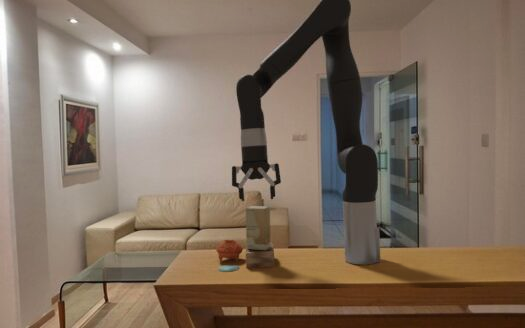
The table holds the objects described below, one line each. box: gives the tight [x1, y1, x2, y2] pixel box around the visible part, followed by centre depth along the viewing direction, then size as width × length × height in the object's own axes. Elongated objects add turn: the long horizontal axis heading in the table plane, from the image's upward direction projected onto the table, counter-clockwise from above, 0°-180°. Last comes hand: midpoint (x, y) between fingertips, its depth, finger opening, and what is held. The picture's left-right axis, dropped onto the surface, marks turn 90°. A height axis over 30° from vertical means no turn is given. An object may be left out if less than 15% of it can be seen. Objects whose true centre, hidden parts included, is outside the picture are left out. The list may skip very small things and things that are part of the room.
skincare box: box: [245, 205, 272, 250], centre depth 113 cm, size 6×4×12 cm
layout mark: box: [217, 264, 240, 273], centre depth 108 cm, size 6×6×1 cm
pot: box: [215, 239, 243, 262], centre depth 117 cm, size 8×8×7 cm
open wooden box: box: [245, 243, 276, 269], centre depth 113 cm, size 8×10×4 cm
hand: (257, 199), depth 113 cm, fingers open, 8 cm apart
